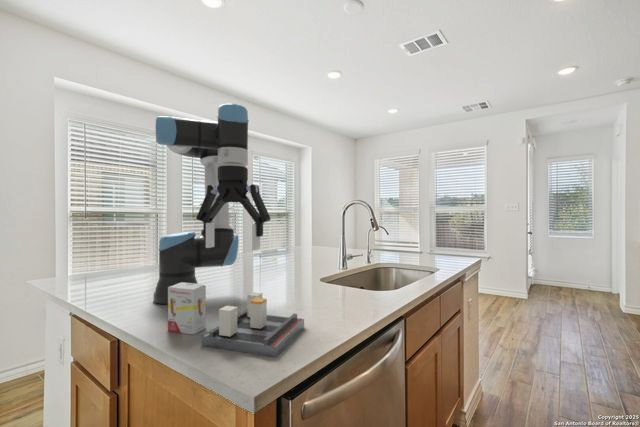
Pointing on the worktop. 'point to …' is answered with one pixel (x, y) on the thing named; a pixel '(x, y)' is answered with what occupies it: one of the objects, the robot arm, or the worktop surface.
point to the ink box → (187, 308)
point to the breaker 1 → (227, 321)
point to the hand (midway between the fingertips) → (232, 248)
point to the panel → (257, 335)
